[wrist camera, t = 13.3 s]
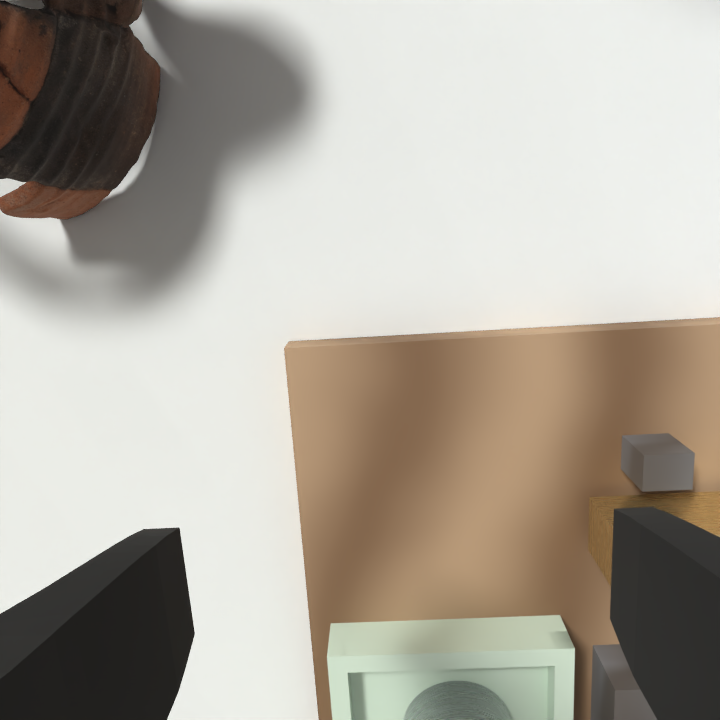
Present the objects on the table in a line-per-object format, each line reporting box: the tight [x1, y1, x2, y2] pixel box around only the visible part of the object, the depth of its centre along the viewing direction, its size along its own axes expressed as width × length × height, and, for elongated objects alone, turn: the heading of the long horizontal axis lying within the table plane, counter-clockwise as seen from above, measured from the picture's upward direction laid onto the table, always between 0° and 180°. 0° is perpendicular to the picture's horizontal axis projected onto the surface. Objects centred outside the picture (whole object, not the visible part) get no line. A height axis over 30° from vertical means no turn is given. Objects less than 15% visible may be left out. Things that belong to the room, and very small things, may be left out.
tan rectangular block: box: [588, 491, 720, 586], centre depth 18 cm, size 4×2×2 cm, turn 94°
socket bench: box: [284, 317, 720, 720], centre depth 20 cm, size 18×17×3 cm
